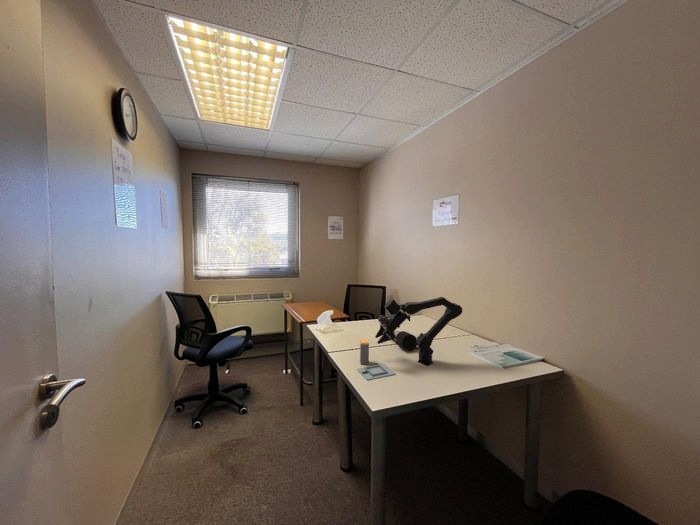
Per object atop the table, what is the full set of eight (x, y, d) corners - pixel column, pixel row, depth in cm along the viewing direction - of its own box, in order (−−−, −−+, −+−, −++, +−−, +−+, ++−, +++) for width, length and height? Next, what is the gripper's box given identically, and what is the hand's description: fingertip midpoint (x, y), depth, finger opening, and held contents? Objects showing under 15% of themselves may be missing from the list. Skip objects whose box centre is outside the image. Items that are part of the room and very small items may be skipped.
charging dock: (383, 364, 149) (383, 362, 149) (395, 374, 138) (395, 371, 138) (356, 369, 143) (356, 366, 143) (367, 380, 132) (367, 377, 132)
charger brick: (367, 361, 154) (368, 340, 153) (368, 364, 150) (368, 343, 149) (360, 361, 154) (360, 340, 153) (360, 364, 149) (360, 343, 149)
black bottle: (391, 340, 200) (396, 328, 202) (413, 353, 167) (419, 338, 169) (379, 335, 198) (385, 322, 200) (399, 347, 165) (406, 331, 167)
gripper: (384, 306, 160) (365, 325, 160) (389, 314, 141) (368, 335, 141) (397, 319, 160) (378, 338, 161) (404, 329, 142) (383, 350, 142)
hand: (376, 340), depth 151 cm, fingers open, 9 cm apart
